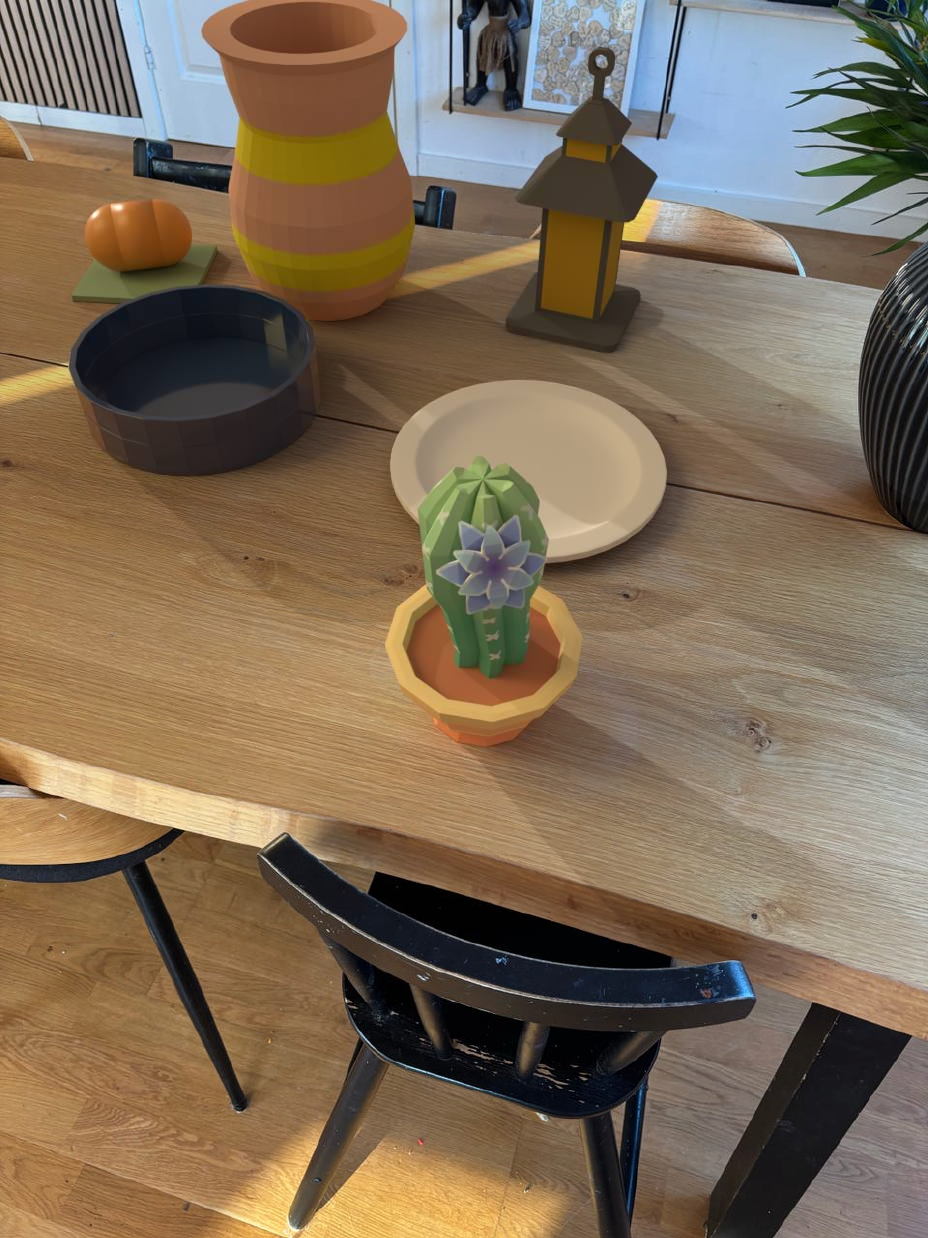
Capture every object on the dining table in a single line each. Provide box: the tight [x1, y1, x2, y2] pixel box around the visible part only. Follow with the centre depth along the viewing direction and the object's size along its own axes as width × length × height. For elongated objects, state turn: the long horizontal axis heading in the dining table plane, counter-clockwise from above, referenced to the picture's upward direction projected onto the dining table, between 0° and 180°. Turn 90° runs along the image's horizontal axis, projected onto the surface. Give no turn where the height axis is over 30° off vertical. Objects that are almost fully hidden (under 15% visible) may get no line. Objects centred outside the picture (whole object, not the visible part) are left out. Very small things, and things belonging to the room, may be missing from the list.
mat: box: [70, 243, 219, 304], centre depth 126 cm, size 15×14×1 cm
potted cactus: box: [384, 456, 583, 748], centre depth 73 cm, size 15×15×25 cm
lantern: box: [505, 46, 659, 354], centre depth 111 cm, size 14×14×30 cm
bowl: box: [67, 283, 322, 477], centre depth 106 cm, size 25×25×7 cm
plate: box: [389, 379, 668, 564], centre depth 100 cm, size 28×28×2 cm
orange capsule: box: [84, 198, 193, 272], centre depth 124 cm, size 13×8×8 cm, turn 106°
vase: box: [200, 0, 416, 322], centre depth 114 cm, size 22×22×30 cm
